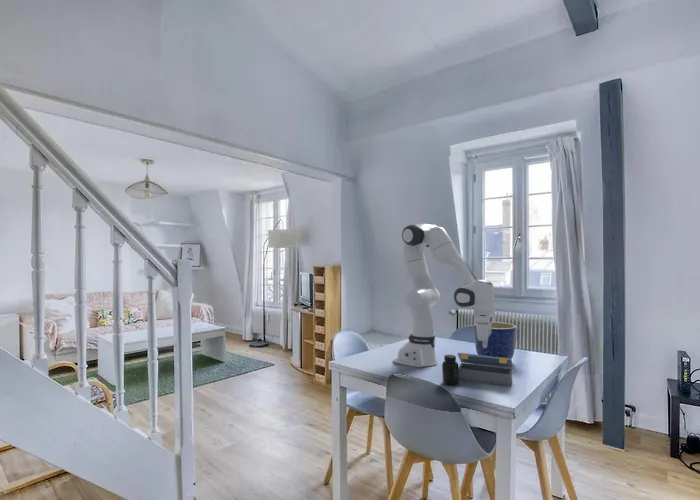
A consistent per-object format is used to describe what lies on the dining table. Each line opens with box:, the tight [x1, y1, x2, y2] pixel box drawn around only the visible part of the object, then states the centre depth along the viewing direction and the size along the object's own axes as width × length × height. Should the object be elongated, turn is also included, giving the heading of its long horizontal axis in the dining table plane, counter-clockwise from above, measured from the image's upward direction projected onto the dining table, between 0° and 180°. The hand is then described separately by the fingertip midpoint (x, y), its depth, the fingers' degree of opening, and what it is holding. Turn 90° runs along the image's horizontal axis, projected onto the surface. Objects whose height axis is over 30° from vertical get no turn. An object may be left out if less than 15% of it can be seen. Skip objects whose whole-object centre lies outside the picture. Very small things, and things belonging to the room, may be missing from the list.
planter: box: [473, 321, 517, 360], centre depth 203 cm, size 21×21×19 cm
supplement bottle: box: [441, 354, 460, 387], centre depth 169 cm, size 7×7×12 cm
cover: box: [457, 352, 514, 369], centre depth 174 cm, size 22×11×3 cm
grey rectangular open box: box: [458, 362, 513, 388], centre depth 174 cm, size 22×10×5 cm, turn 64°
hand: (485, 347), depth 174 cm, fingers closed
